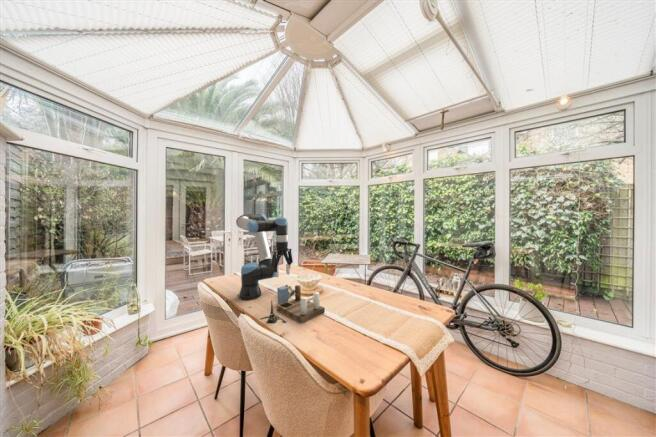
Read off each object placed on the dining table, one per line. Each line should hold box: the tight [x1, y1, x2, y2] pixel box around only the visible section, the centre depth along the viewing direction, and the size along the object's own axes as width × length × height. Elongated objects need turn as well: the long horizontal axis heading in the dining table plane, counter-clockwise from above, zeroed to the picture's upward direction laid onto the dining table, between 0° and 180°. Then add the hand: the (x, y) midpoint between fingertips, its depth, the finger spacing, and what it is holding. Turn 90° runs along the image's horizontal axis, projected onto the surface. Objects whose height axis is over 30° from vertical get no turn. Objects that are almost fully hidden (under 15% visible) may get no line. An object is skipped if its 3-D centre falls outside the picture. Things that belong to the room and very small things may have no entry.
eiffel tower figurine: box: [259, 300, 288, 324], centre depth 135 cm, size 15×10×13 cm
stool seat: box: [276, 284, 326, 324], centre depth 146 cm, size 24×18×12 cm
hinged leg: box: [301, 291, 320, 315], centre depth 140 cm, size 14×4×9 cm, turn 137°
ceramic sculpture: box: [284, 284, 295, 299], centre depth 172 cm, size 11×9×15 cm
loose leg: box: [276, 285, 289, 305], centre depth 157 cm, size 5×5×11 cm
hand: (282, 275), depth 157 cm, fingers open, 8 cm apart
